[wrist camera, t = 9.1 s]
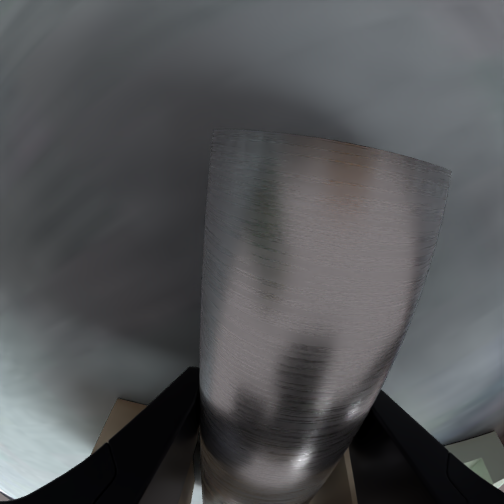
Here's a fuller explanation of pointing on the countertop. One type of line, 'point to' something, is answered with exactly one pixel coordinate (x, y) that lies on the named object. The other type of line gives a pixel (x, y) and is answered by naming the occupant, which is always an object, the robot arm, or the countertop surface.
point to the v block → (482, 457)
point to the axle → (303, 302)
